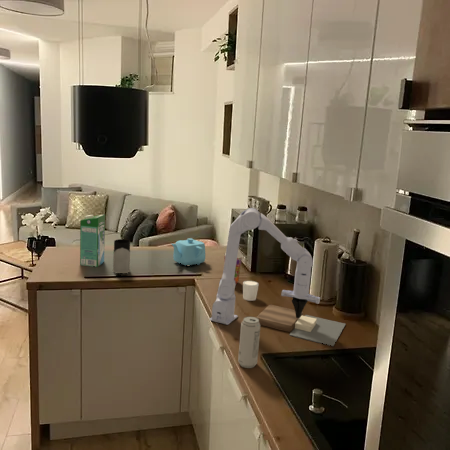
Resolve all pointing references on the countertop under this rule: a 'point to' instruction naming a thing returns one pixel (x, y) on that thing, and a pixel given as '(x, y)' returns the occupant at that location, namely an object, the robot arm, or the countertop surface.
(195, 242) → the teapot
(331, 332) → the mat
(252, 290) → the white cup
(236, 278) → the smoothie
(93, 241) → the milk carton
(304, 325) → the cream rectangular block
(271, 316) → the wooden cutting board
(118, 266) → the holder
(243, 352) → the energy drink can
